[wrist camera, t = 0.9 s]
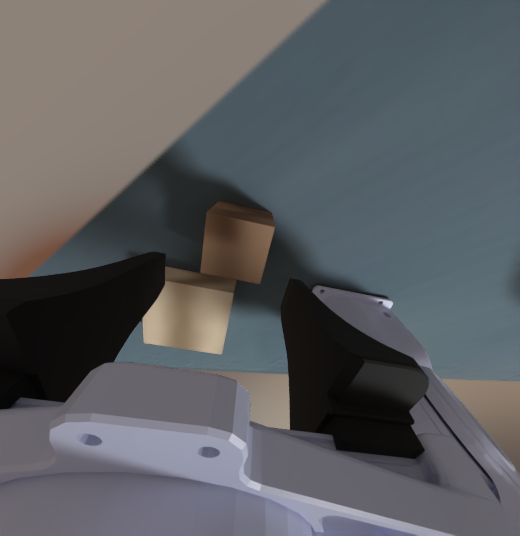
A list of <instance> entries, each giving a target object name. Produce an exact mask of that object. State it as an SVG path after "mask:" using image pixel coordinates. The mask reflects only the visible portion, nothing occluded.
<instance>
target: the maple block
mask: <svg viewBox="0 0 520 536" xmlns="http://www.w3.org/2000/svg"><path fill="white" fill-rule="evenodd" d="M235 285H236V280H234V279H229V278H223V277H218V276H213V275H208V274H202V273H197V272H192V271H187V270H181V269H176V268H171V267H166V266H165V286H164V288H163V289H162V291H161V293H160V295H159V297H158V298H157V300H156V301H155V302H154V304H153V305H152V306H151V308H150V309H149V310H148V312H147V313H146V314H145V315H144V317H143V336H144V343H148V344H155V345H162V346H168V347H175V348H181V349H188V350H195V351H201V352H208V353H214V354H221V355H222V351H223V346H224V341H225V336H226V331H227V326H228V321H229V316H230V311H231V305H232V300H233V295H234V290H235Z"/></svg>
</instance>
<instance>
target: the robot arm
mask: <svg viewBox="0 0 520 536" xmlns="http://www.w3.org/2000/svg"><path fill="white" fill-rule="evenodd" d="M164 286H165V254H164V253H159V252H150V253H146V254H142V255H139V256H136V257H132V258H129V259H126V260H122V261H119V262H115V263H111V264H108V265H104V266H100V267H96V268H91V269H87V270H81V271H76V272H70V273H63V274H55V275H48V276H39V277H28V278H15V279H0V536H520V474H519V473H518V472H517V470H516V469H515V467H514V465H513V464H512V463H511V462H510V460H509V459H508V457H507V456H506V455H505V454H504V452H503V451H502V450H501V449H500V447H499V446H498V445H497V444H496V442H495V441H494V440H493V439H492V437H491V436H490V435H489V434H488V433H487V431H486V430H485V429H484V428H483V427H482V426H481V424H480V423H479V422H478V421H477V420H476V419H475V417H474V416H473V415H472V414H471V413H470V412H469V410H468V409H467V408H466V407H465V406H464V405H463V404H462V402H461V401H460V400H459V399H458V398H457V397H456V395H455V394H454V393H453V392H452V391H451V390H450V388H449V387H448V386H447V385H446V384H445V383H444V382H443V381H442V380H441V378H440V377H439V376H438V375H437V374H436V373H435V372H434V371H433V370H432V366H431V362H430V359H429V357H428V354H427V352H426V351H425V349H424V348H423V346H422V345H421V344H420V343H419V342H418V341H417V339H416V338H415V337H414V336H413V335H412V334H411V333H410V331H409V330H408V329H407V328H406V327H405V326H404V325H403V324H402V322H401V321H400V320H399V319H398V318H397V317H396V316H395V314H394V313H393V312H392V311H391V310H390V308H391V306H392V305H393V302H392V301H391V300H390V299H386V298H381V297H376V296H371V295H365V294H360V293H355V292H350V291H345V290H340V289H335V288H330V287H325V286H320V285H317V286H315V287H314V288H313V290H312V291H311V290H310V289H309V288H308V287H307V286H306V285H305V284H304V283H303V282H302V281H300V280H297V279H291V278H290V280H289V283H288V286H287V289H286V292H285V295H284V298H283V301H282V304H281V322H282V328H283V334H284V340H285V345H286V351H287V359H288V373H289V394H290V430H287V429H278V428H270V427H266V426H263V425H260V424H258V423H255V422H251V421H250V397H249V392H248V391H246V389H245V388H243V387H242V386H241V385H240V384H239V383H238V382H237V381H236V380H233V379H230V378H227V377H224V376H221V375H217V374H210V373H203V372H196V371H189V370H182V369H175V368H169V367H162V366H155V365H148V364H141V363H134V362H114V360H115V358H116V357H117V355H118V353H119V352H120V350H121V348H122V347H123V345H124V343H125V342H126V340H127V338H128V337H129V335H130V334H131V333H132V331H133V330H134V328H135V327H136V326H137V324H138V323H139V322H140V321H141V319H142V318H143V317H144V315H145V314H146V313H147V312H148V310H149V309H150V308H151V306H152V305H153V304H154V302H155V301H156V300H157V298H158V297H159V295H160V293H161V291H162V289H163V288H164ZM321 290H323V291H322V292H320V291H321ZM380 301H381V302H380ZM378 302H379V303H378Z"/></svg>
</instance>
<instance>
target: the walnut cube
mask: <svg viewBox="0 0 520 536" xmlns="http://www.w3.org/2000/svg"><path fill="white" fill-rule="evenodd" d="M274 229H275V225H274V221H273V216H272V213H271V212H266V211H262V210H258V209H253V208H249V207H245V206H240V205H236V204H231V203H227V202H223V201H218V202H217V203H216V204H215V205H214V206H213V207H212V208H210V209H209V210H208V211H207V212H206V222H205V231H204V241H203V251H202V260H201V270H200V273H204V274H209V275H215V276H220V277H225V278H230V279H235V280H241V281H246V282H251V283H256V284H260V282H261V279H262V275H263V271H264V267H265V263H266V260H267V256H268V252H269V248H270V244H271V241H272V237H273V233H274Z"/></svg>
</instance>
